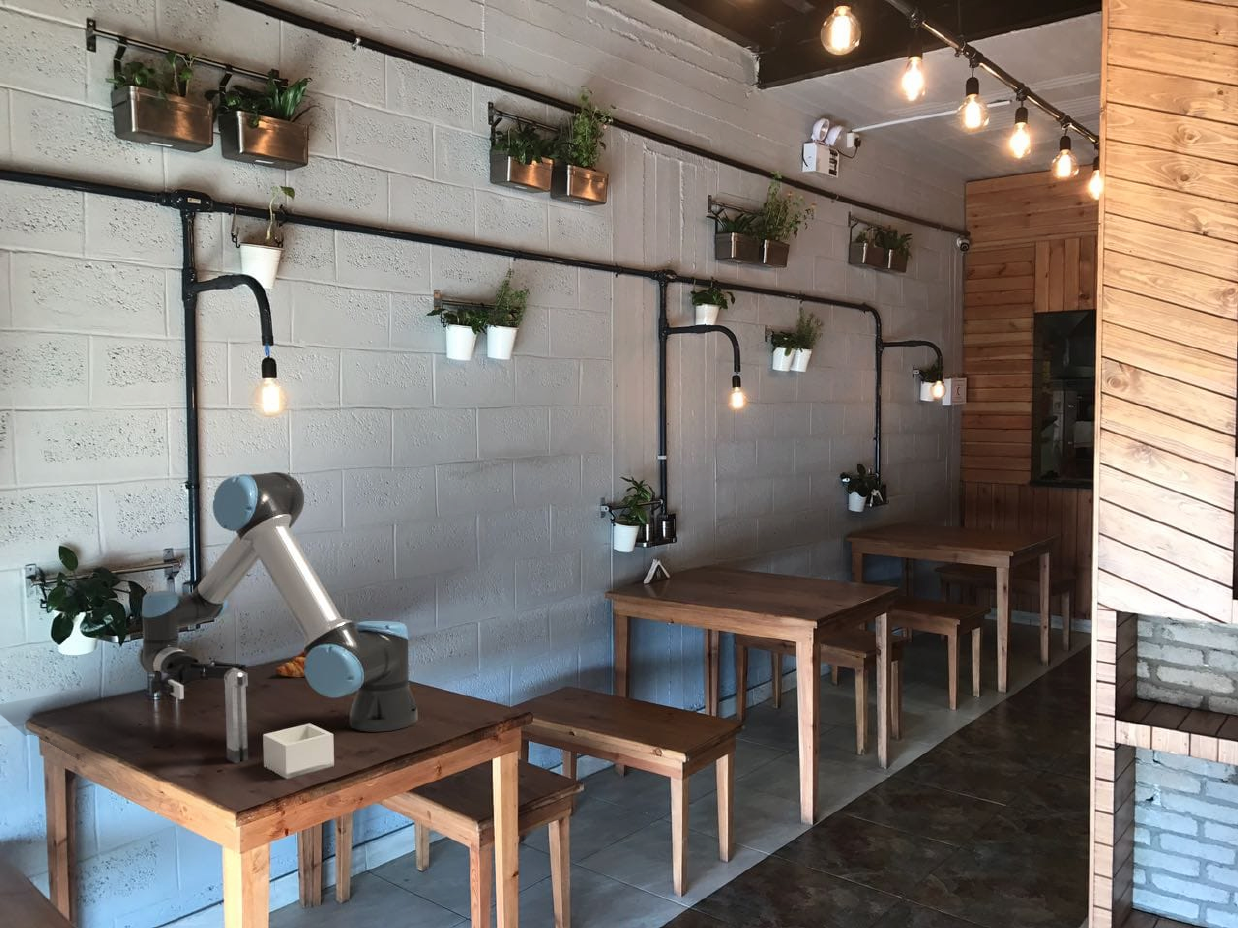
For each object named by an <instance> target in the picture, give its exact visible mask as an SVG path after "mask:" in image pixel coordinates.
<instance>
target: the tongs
mask: <svg viewBox="0 0 1238 928" xmlns="http://www.w3.org/2000/svg"><path fill="white" fill-rule="evenodd" d="M223 681H224V688H225V689H224V693H225V694H224V695H225V698H224V699H225V722H226V723H225V724H226V725H225V726H226V727H225V728H226V729H225V730H226V759H227V760H229V761H230V762H232V763H234V764H237V763H240V762H241V761H243V762H245V761H249V748H248V726H247V725H248V724H247V723H248V722H247V695H246V694H247V693H246V691H247V690H246V686H245V682H246V676H245V675H244V674H243V673H241V672H238V671H236V670H233V669H231V670H228V671H227V672H226V673H225V675H224V679H223ZM240 760H241V761H240Z"/></svg>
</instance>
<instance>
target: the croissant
mask: <svg viewBox="0 0 1238 928" xmlns="http://www.w3.org/2000/svg"><path fill="white" fill-rule="evenodd" d="M306 656H307V655H306V654H305V652H304V650H303V651H301V652H300V653H299V654H298V656H295V657H293V658H292V659H291V660H290V662H286V663H283V664H281V666H279V667H276V668H275V669H276V673H277V674H279V675H281V676H282V677H283V676H284V677H290V678H297V679H299V678H306V676H305V673H304V668H305V665H304V662H305V658H306Z"/></svg>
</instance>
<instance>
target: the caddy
mask: <svg viewBox="0 0 1238 928" xmlns="http://www.w3.org/2000/svg"><path fill="white" fill-rule="evenodd" d="M262 737H263V738H262V740H263V741H262V743H263V745H262V746H263V767H264V768H266V767H267V768H266V769H267V770H269V771H271V770H272V771H271V772H273V771H274V773H275V774H277V775H279V776H280V777H282V778H284V779H285V780H288V779H289V780H290V779H293V778H296V777H300V776H302V775H307V774H311V773H314V772H318V771H321V770H326V769H328V768H331V767H332V768H333V767H335V755H334V754H335V751H334V750H335V749H334V734H333V733H331V732H329V731H327V730H325V729H323V728H321V727H319V726H317V725H314V724H312V723H310V722H309V723H305V724H301V725H297V726H293V727H288V728H283V729H281V730H276V731H272V732H271V731H270V732H267V733H264V734H262Z"/></svg>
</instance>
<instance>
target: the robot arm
mask: <svg viewBox="0 0 1238 928" xmlns="http://www.w3.org/2000/svg"><path fill="white" fill-rule="evenodd" d="M213 497H214V499H213V500H212V512H213V515H214V519H215V521H216V522H217V523H218V525H219V526H220V527H221V528H222V529H224V530H225V529H226V530H228V531H230V532H235V533H236V534H237V535H236V536H235V537H234V539H233V540H232V541H231V543H230V544H229V545H228V546H227V548H226V549H225V551H224V552H223V553H222V554H221V555H220V557H218V558H217V560H216V562H215V563H214V564H213V566H212V567H211V568H210V570H208V572H207V573H206V575H204V577H203V578H202V580H201V581H200V582H199V584H198V585H197V586H196V587H195V588H194V590H193V591H192V592H190V593H187V594H183V595H179V596H178V594H177V592H175V591H174V590H173V591H172V590H160V591H159V590H158V591H151V592H148V593H146V594H144V595H143V597H142V605H141V607H142V608H141V615H142V633H143V635H142V636H143V640H142V646H141V647H140V649H139V651H138V654H137V661H138V663H139V666H140V667H142V669H144V671H145V672H147V673H148V674H151V675H153V678H152V680H151V682H150V687H151V689H150V691H151V693H150V694H152V695H156V694H158V692H161V693H160V694H161V696H162V697H166V696H168V695H169V694H170V695H172V696H173V697H175V698H177V699H178V700H183V699H185V697H184V695H185V694H184V687H186V686H188V685H190V684H192V683H193V682H197V681H208V680H211V679H223V680H224V675H225V673H226V672H227V671H228V670H231V669H233V670H236V671H238V672H241V673H243V674H244V675H245V676H246V682H245V687H249V682H248V678H249V677H248V672H247V669H246V668H247V665H246V664H240V663H230V662H222V661H217V660H212V661H210V663H200V662H199V659H198V658H197V657H196V656H195V655H193V654H191V653H189V652H187V651H185V650H183V649H181V648H179V638H180V636H179V631H180V630H179V629H182V628H186V627H190V626H194V625H197V624H200V623H205V622H211V621H213V620H216V619H217V618H220V617H222V616H224V614H225V613H226V611H227V607H228V605H229V603H228V601H229V600H228V599H229V597H230V596H231V595H232V594H233V592H234V591H235V590H236V589H237V587H238V586H239V585H240V583H241V582H243V580H244V578H245V577H246V576H247V575H248V574H249V573H250V571H252V569H253V567H254V566H255V565H256V564H257V562H258V561H259V560H260V561H261V563H262V565H263V566H264V568H265V570H266V572H267V573H268V575H269V577H270V579H271V581H272V582H273V585H274V586H275V587H276V589H277V592H278V593H279V595H280V597H281V598H282V600H283V602H284V603H285V605H286V607H287V608H288V609H287V610H289V612H290V614H291V616H292V618H293V619H294V621H295V622H296V625H297V626H298V628H299V630H300V631H301V633H302V635H303V637H304V638H305V639H304V644H303V648H302V650H303V651H304V652H305V654H306V655H307V656H306V658H305V662H304V665H305V668H304V673H305V676H306V677H305V678H306V680H307V682H308V684H309V685H310V687H311V688H312V689H313V690H314V691H315V692H317V693H318V694H320V695H321V696H324V697H327V698H341V697H344V696H348V695H352V694H354V693H355V692H356V693H355V696H354V699H353V702H352V704H351V705H352V706H351V708H350V713H349V726H350V727H351V728H353V729H354V730H356V731H361V732H362V731H363V732H370V733H371V732H374V733H375V732H378V733H379V732H390V731H395V730H396V731H397V730H401V729H403V728H404V729H405V728H406V727H410V726H411V725H414V724H415V723H416V722H417V721H418V706H417V704H416V701H415V699H414V696H413V693H412V691H411V687H410V675H409V674H410V673H409V671H410V670H409V669H410V668H409V641H410V640H409V639H410V638H409V637H408V636H409V635H408V633H409V632H408V627H407V626H406V624H405V623H403V622H399V621H389V620H388V621H387V620H370V621H369V620H368V621H365V620H364V621H358V622H357V623H355V624H354V623H353V621H352V620H350V619H346V618H343V617H342V616H341V615H340V612H339V611H338V609H337V607H336V606H335V604H334V602H333V601H332V599H331V597H330V595H329V594H328V592H327V590H326V589H325V586H324V585H323V584H322V581H321V580H320V578H319V576H318V575H317V573H316V571H315V569H314V568H313V566H312V564H311V562H310V561H309V559H308V557H307V556H306V553H305V552H304V551H303V549H302V547H301V545H300V544H299V541H298V540H297V539H296V537H295V535H294V533H293V532H292V530H291V528H292V527H293V526H294V524H295V523H296V521H297V520H298V519H299V516H300V515H301V514H302V511H303V508H304V506H305V494H304V490H303V487H302V486H301V484H300V483H299V481H297V479H295V477H293V476H291V475H290V474H287V473H285V472H279V471H271V472H264V473H254V474H253V473H252V474H247V473H246V474H243V473H242V474H239V475H236V476H231V477H228V478H226V479H225V480H223V481H222V482H221V483H220V484H219V485H218V486H217V488H216V490H215V492H214V495H213Z"/></svg>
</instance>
